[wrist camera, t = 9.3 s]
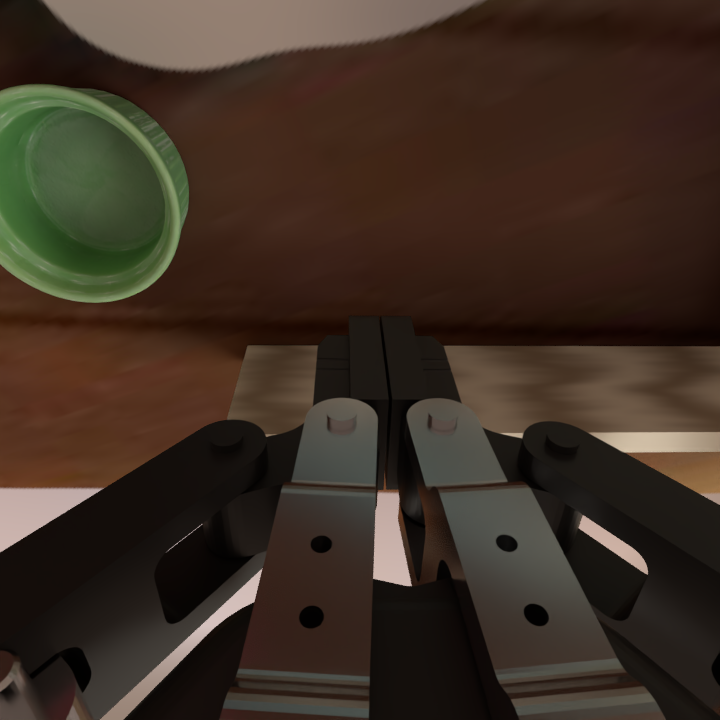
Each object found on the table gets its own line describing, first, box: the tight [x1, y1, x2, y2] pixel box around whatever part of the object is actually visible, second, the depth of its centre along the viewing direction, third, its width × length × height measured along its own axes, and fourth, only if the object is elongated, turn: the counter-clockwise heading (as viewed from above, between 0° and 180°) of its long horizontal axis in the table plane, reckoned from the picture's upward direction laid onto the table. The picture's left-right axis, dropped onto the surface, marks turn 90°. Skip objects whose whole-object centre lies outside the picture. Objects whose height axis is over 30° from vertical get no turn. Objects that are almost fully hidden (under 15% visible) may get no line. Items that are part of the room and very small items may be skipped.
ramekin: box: [0, 84, 189, 303], centre depth 24 cm, size 9×9×4 cm
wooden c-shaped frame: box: [227, 345, 720, 452], centre depth 24 cm, size 32×20×8 cm, turn 89°
